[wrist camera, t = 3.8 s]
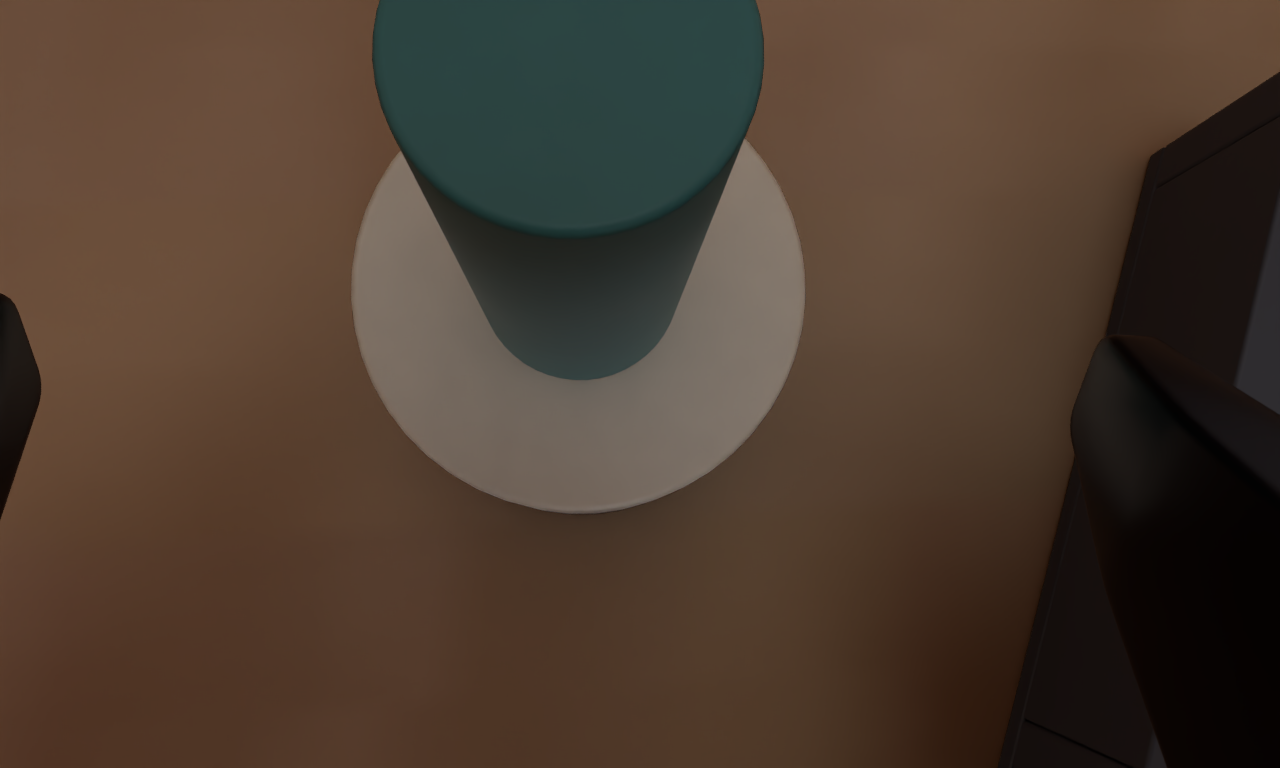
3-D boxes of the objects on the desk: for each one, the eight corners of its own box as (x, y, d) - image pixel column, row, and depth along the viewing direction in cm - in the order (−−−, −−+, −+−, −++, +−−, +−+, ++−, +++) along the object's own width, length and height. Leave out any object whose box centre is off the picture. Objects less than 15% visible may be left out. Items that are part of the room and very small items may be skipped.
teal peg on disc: (832, 381, 19) (1196, 170, 8) (531, 587, 18) (435, 695, 7) (630, 92, 19) (686, -520, 8) (330, 283, 19) (-72, -85, 7)
